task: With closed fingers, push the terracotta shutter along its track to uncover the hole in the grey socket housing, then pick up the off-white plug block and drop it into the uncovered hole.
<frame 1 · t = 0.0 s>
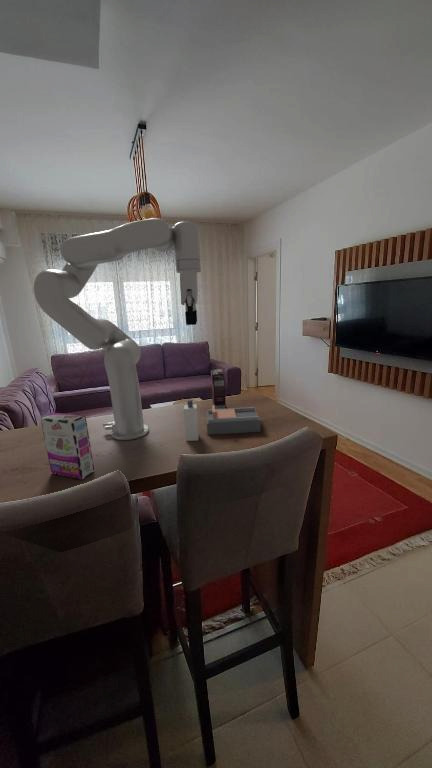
hand: (191, 323, 102), 37 cm above the table, tool pointing down, fingers open, 9 cm apart
candy bar box: (73, 473, 87), on the table
plug: (192, 438, 105), on the table
supplement box: (219, 409, 131), on the table
socket housing: (232, 426, 112), on the table
shutter: (223, 412, 111), point 6 cm above the table, slide at 0.0 cm
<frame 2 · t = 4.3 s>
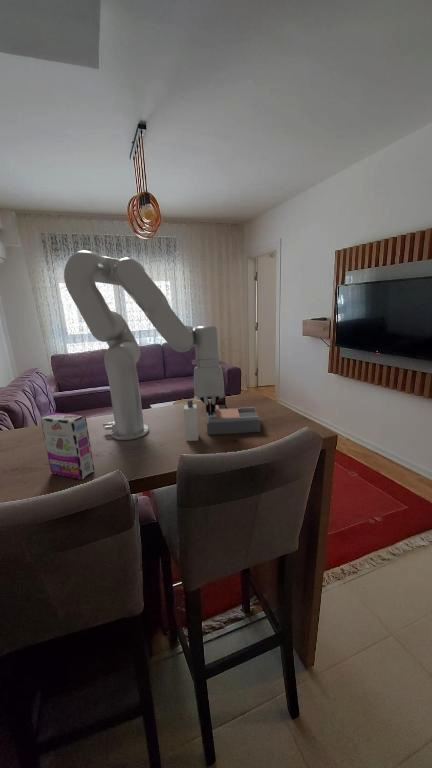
hand: (210, 414, 111), 5 cm above the table, tool pointing down, fingers closed
shutter: (227, 411, 111), point 6 cm above the table, slide at 1.3 cm, touching gripper
everything else where it was.
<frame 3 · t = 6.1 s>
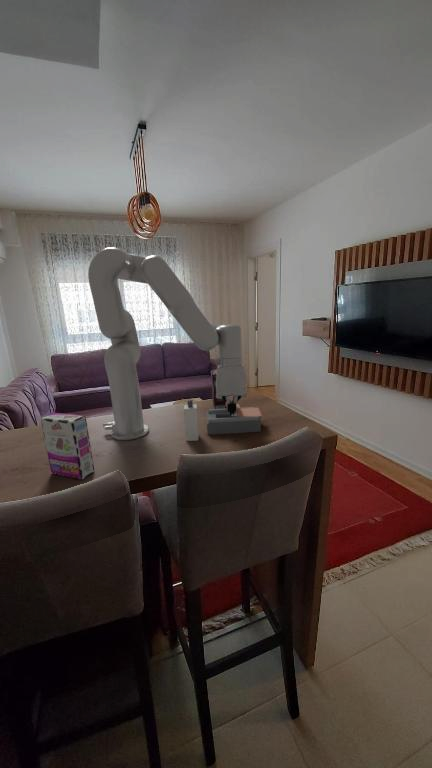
hand: (232, 413, 111), 5 cm above the table, tool pointing down, fingers closed
shutter: (248, 410, 111), point 6 cm above the table, slide at 8.7 cm, touching gripper
everything else where it was.
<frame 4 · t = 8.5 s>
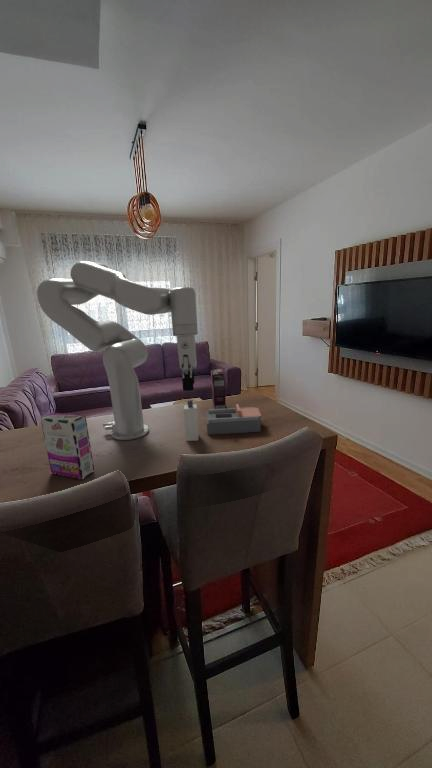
hand: (188, 386, 100), 18 cm above the table, tool pointing down, fingers open, 6 cm apart
shutter: (248, 410, 111), point 6 cm above the table, slide at 8.6 cm
everything else where it was.
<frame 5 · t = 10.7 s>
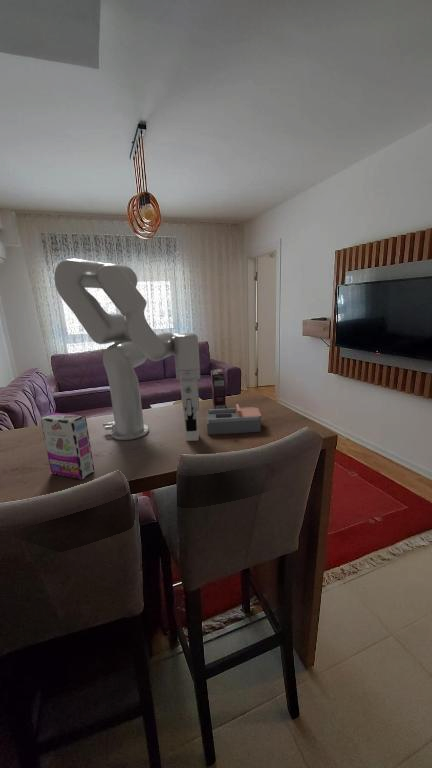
hand: (191, 427, 104), 4 cm above the table, tool pointing down, fingers closed on plug, 4 cm apart
plug: (192, 438, 105), on the table, touching gripper
everything else where it was.
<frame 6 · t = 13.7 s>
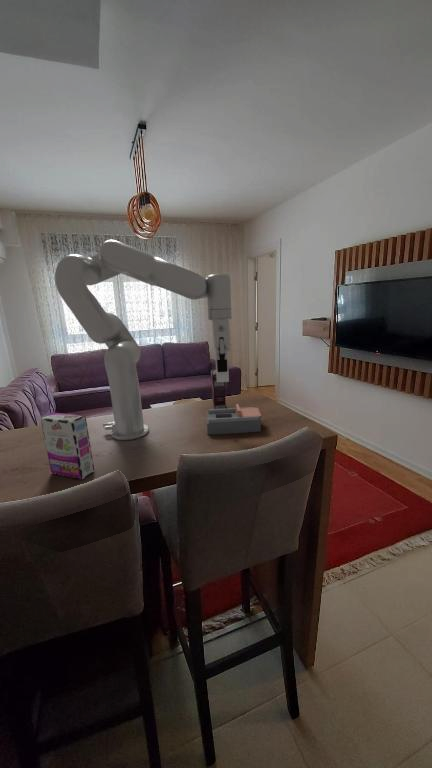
hand: (222, 369, 107), 21 cm above the table, tool pointing down, fingers closed on plug, 4 cm apart
plug: (222, 380, 108), point 17 cm above the table, touching gripper
everything else where it was.
when the fingers open (5 cm above the table, at t = 16.8 s): plug drops 1 cm, resting in socket housing.
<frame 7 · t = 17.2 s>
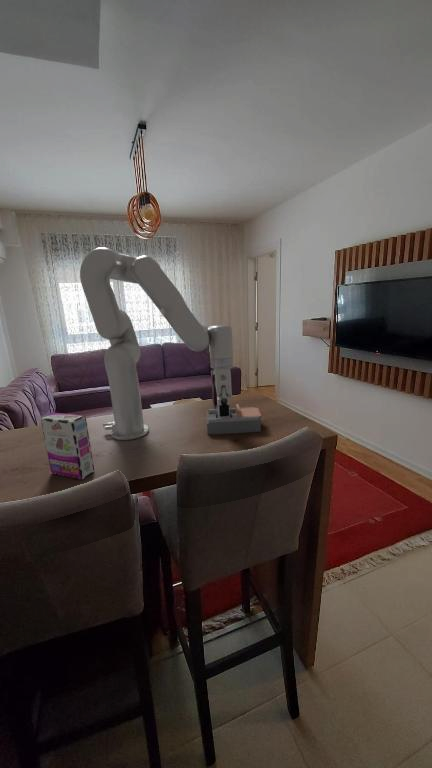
hand: (223, 411, 111), 6 cm above the table, tool pointing down, fingers open, 8 cm apart
plug: (224, 427, 112), resting in socket housing
everything else where it was.
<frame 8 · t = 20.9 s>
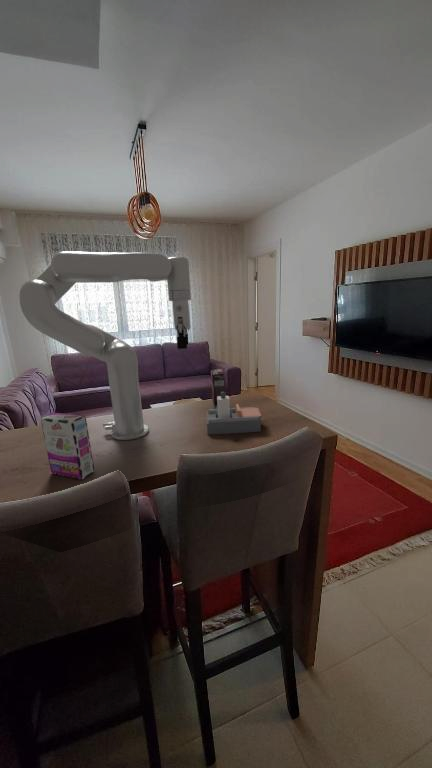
hand: (183, 346, 112), 28 cm above the table, tool pointing down, fingers open, 9 cm apart
nothing on the table moved.
at the end: shutter slide at 8.6 cm; plug 0.0 cm from the target spot on the socket housing, point 0.0 cm above the socket housing's base; plug tilted 0° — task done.
